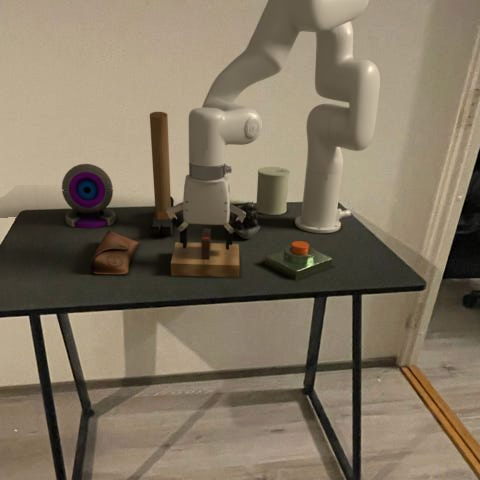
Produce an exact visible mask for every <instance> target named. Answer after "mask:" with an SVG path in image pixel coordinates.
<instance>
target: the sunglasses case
mask: <svg viewBox="0 0 480 480" xmlns="http://www.w3.org/2000/svg"><path fill="white" fill-rule="evenodd" d="M139 244H140V242H139V241H137V240H134V239H131V238H128V237H125V236H123V235H120V234H119V233H115V232H113V230H111V229H109V230H107V231H106V233H105V235H104V236H103V238H102V239H101V241H100V243H99V245H98V247H97V249H96V251H95V252H94V255H93V257H92V258H91V261H90V265H89V266H90V267H89V268H90V270H91V272H92V273H93V274H95V275H104V276H118V275H119V276H121V275H127V274H129V269H130V263H131V260H132V258H133V256H134V254H135V251H136V249H137V248H138V246H139Z"/></svg>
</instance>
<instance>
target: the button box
mask: <svg viewBox="0 0 480 480" xmlns="http://www.w3.org/2000/svg"><path fill="white" fill-rule="evenodd" d="M291 246H292V244H289V245H286V246H285V248H284V249H283V250H281V251H278V252H274V253H271V254H269V255H265V261H264V265H265V266H267V267H269V268H271V269H273V270H275V271H277V272H279V273H281V274H283V275H285V276H287V277H289V278H291V279H293V280H299V279H302V278H304V277H307V276H310V275H312V274H315V273H317V272H320V271H323V270H326V269H328V268H331V267H332V264H333V263H332V262H333V257H330V256H328V255H326V254H325V253H321V252H319V251H317V250H315V248H313V247H311V246H309V251H308V253H307V254H296V253H293V252H291Z"/></svg>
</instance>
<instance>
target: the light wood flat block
mask: <svg viewBox="0 0 480 480" xmlns="http://www.w3.org/2000/svg"><path fill="white" fill-rule="evenodd" d="M170 275H171V276H172V277H173V276H176V277H177V276H178V277H206V278H207V277H209V278H212V277H215V278H217V277H220V278H221V277H222V278H239V277H240V244H239V243H232V245H229V250H227V249H226V243H217V242H216V243H214V242H211V249H210V259H202V242H187V246H186V248H183V243H180V241H178V242H177V241H176V242H175V243H174V247H173V252H172V256H171V261H170Z"/></svg>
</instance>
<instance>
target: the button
mask: <svg viewBox="0 0 480 480" xmlns="http://www.w3.org/2000/svg"><path fill="white" fill-rule="evenodd" d="M291 245H292V246H291V252H293V253H296V254H307V253H308V251H309V247H310V244H309V243H308V242H306V241H302V240H296V241H292V242H291Z"/></svg>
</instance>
